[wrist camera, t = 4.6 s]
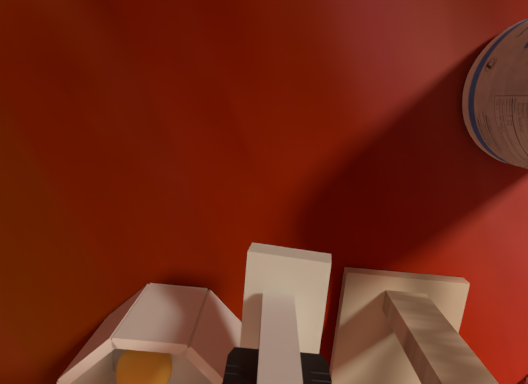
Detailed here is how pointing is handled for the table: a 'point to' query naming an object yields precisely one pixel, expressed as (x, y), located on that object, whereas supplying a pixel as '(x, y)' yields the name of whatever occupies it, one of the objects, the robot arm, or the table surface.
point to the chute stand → (402, 330)
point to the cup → (162, 336)
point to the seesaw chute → (286, 290)
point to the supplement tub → (500, 97)
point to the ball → (143, 367)
